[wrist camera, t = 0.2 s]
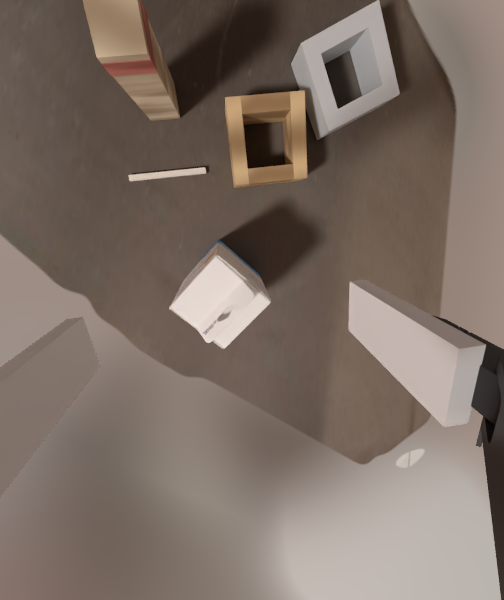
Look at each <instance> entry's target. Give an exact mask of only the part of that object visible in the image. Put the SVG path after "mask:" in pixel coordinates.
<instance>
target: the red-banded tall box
mask: <svg viewBox="0 0 504 600" xmlns="http://www.w3.org/2000/svg"><path fill="white" fill-rule="evenodd" d="M83 3H84V8H85V12H86V16H87V20H88V24H89V28H90V32H91V36H92V40H93V44H94V48H95V52H96V56H97V58H98V60H99V61H100V62H101V65H102V66H103V67H104V68H105V69H106V70H107V71H108V73H109V74H110V75H111V76H113V77H114V78H115V79H116V80H117V82H118V83H119V84H120V85H121V86H122V87H123V89H124V90H125V91H126V92H127V93H128V94H129V96H130V97H131V98H132V99H133V100H134V101H135V102H136V104H137V105H138V106H139V107H140V108H141V109H142V111H143V112H144V113H145V114H146V115H147V116H148V118H149V119H150V120H151V121H155V120H165V119H176V118H180V114H179V108H178V102H177V96H176V90H175V84H174V81H173V79H172V76H171V74H170V71H169V69H168V67H167V64H166V62H165V59H164V57H163V54H162V52H161V50H160V47H159V45H158V42H157V40H156V37H155V35H154V33H153V30H152V28H151V25H150V23H149V20H148V18H147V13H146V11H145V8H144V6H143V4H142V1H141V0H83Z"/></svg>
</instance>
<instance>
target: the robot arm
mask: <svg viewBox="0 0 504 600" xmlns="http://www.w3.org/2000/svg"><path fill="white" fill-rule="evenodd" d="M349 331H350V332H351V333H352V334H353V335H354V336H355V337H356V338H357V339H358V340H359V341H360V342H361V343H362V344H363V345H364V346H365V347H366V348H367V349H368V350H369V351H370V352H371V353H372V354H373V355H374V356H375V357H376V358H377V359H378V360H379V361H380V362H381V364H382V365H383V366H384V367H385V368H386V369H387V370H388V371H389V372H390V373H391V374H392V375H393V376H394V377H395V378H396V379H397V380H398V381H399V382H400V383H401V384H402V385H403V386H404V387H405V388H406V389H407V390H408V391H409V392H410V393H411V394H412V395H413V396H414V397H415V398H416V399H417V400H418V401H419V402H420V403H421V404H422V405H423V406H424V407H425V408H426V409H427V410H428V411H429V412H430V413H431V414H432V415H433V416H434V417H435V418H436V419H437V420H438V421H439V422H440V423H441V424H442V425H443V426H444V427H448V426H454V425H460V424H466V423H468V421H469V417H470V412H471V408H472V407H473V408H474V409H475V410H477V411H478V412H479V413H480V414H481V415H483V420H482V423H481V428H480V431H479V435H478V439H477V444H476V446H479V447H481V445H482V442H483V449H484V457H485V466H486V474H487V483H488V490H489V499H490V507H491V515H492V524H493V533H494V541H495V550H496V558H497V566H498V575H499V583H500V592H501V600H504V349H502V348H500V347H497V346H495V345H494V344H492V343H490V342H488V341H486V340H484V339H482V338H480V337H479V336H477V335H475V334H473V333H469V332H468V331H467V330H465V329H463V328H461V327H458V326H457V325H455V324H453V323H452V322H450V321H448V320H446V319H442V318H439V317H436V316H432V315H430V314H428V313H426V312H424V311H422V310H421V309H419V308H417V307H415V306H413V305H411V304H409V303H407V302H406V301H404V300H402V299H400V298H398V297H396V296H394V295H393V294H391V293H389V292H387V291H385V290H383V289H381V288H380V287H378V286H376V285H374V284H372V283H370V282H368V281H367V280H365V279H363V280H356V281H350V290H349ZM99 367H100V363H99V360H98V358H97V355H96V352H95V349H94V347H93V344H92V341H91V339H90V335H89V333H88V330H87V327H86V325H85V322H84V319H83V317H81V318H73V319H66V320H65V321H64V322H63V323H61V324H59V325H58V326H57V327H55V328H54V329H53V330H51V331H50V332H49V333H47V334H46V335H44V336H43V337H42V338H40V339H39V340H37V341H36V342H35V343H33V344H32V345H31V346H29V347H28V348H27V349H25V350H24V351H22V352H21V353H20V354H18V355H17V356H15V357H14V358H13V359H11V360H10V361H9V362H7V363H6V364H5V365H3V366H2V367H0V497H1V495H2V494H3V493H4V491H5V490H6V489H7V487H8V486H9V485H10V483H11V482H12V481H13V480H14V478H15V477H16V476H17V474H18V473H19V472H20V470H21V469H22V468H23V467H24V465H25V464H26V462H27V461H28V460H29V459H30V457H31V456H32V455H33V454H34V452H35V451H36V450H37V448H38V447H39V446H40V444H41V443H42V441H44V439H45V438H46V437H47V435H48V434H49V433H50V431H51V430H52V429H53V428H54V426H55V425H56V424H57V422H58V421H59V419H60V418H61V417H62V416H63V414H64V413H65V412H66V410H67V409H68V408H69V407H70V405H71V404H72V403H73V401H74V400H75V399H76V398H77V396H78V395H79V393H80V392H81V391H82V390H83V388H84V387H85V386H86V384H87V383H88V382H89V381H90V379H91V378H92V377H93V375H94V374H95V372H96V371H97V370H98V369H99Z"/></svg>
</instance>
